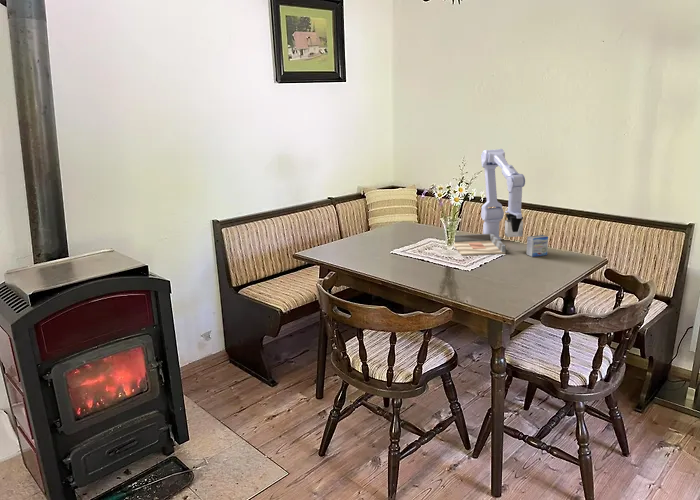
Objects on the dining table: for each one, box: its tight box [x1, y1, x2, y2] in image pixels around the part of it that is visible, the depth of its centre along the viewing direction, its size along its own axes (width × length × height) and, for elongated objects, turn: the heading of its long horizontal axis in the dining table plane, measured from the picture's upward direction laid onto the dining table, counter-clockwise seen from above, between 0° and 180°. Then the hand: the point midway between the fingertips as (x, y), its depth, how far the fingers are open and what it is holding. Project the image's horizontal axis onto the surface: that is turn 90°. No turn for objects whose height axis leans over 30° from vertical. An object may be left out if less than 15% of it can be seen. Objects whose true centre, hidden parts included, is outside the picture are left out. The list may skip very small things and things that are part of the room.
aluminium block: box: [504, 219, 524, 238], centre depth 248 cm, size 4×7×7 cm, turn 91°
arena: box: [453, 233, 507, 256], centre depth 256 cm, size 22×20×4 cm
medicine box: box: [526, 234, 549, 258], centre depth 241 cm, size 8×4×9 cm, turn 105°
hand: (513, 230), depth 248 cm, fingers closed on aluminium block, 4 cm apart
